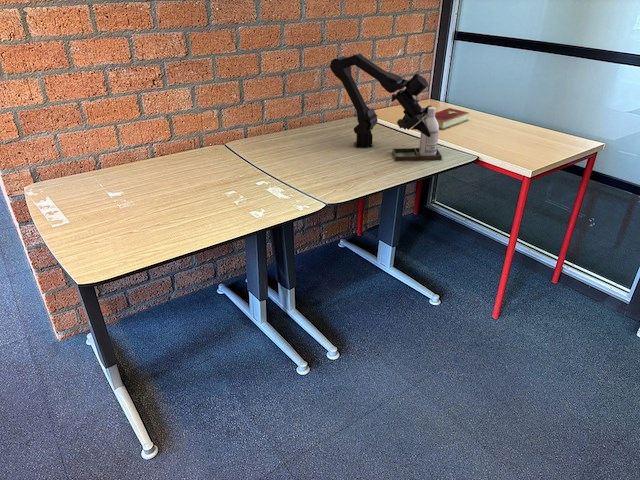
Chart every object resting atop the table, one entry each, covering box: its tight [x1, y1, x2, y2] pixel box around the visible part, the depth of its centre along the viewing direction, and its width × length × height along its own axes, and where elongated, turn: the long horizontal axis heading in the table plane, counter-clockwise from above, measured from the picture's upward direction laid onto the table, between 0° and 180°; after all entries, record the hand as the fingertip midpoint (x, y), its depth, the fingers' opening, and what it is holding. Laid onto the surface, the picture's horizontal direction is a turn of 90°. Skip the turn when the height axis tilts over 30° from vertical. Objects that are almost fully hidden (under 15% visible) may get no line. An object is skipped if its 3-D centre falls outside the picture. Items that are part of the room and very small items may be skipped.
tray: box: [392, 147, 443, 162], centre depth 201 cm, size 18×10×2 cm, turn 91°
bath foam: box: [418, 106, 440, 156], centre depth 196 cm, size 7×7×20 cm
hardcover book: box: [435, 107, 470, 131], centre depth 238 cm, size 12×21×4 cm, turn 132°
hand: (432, 133), depth 196 cm, fingers closed on bath foam, 7 cm apart
